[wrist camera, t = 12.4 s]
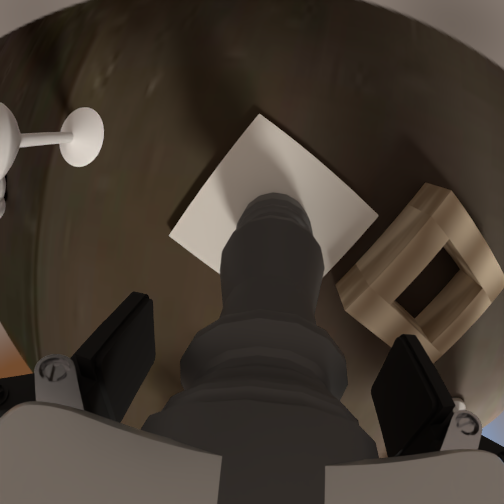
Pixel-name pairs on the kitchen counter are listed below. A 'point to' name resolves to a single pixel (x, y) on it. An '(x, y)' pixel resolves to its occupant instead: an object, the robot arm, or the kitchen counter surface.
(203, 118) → the kitchen counter surface
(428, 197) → the socket block
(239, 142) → the ceramic tile
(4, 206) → the cat figurine
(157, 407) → the kitchen counter surface
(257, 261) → the candle holder
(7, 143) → the champagne flute
